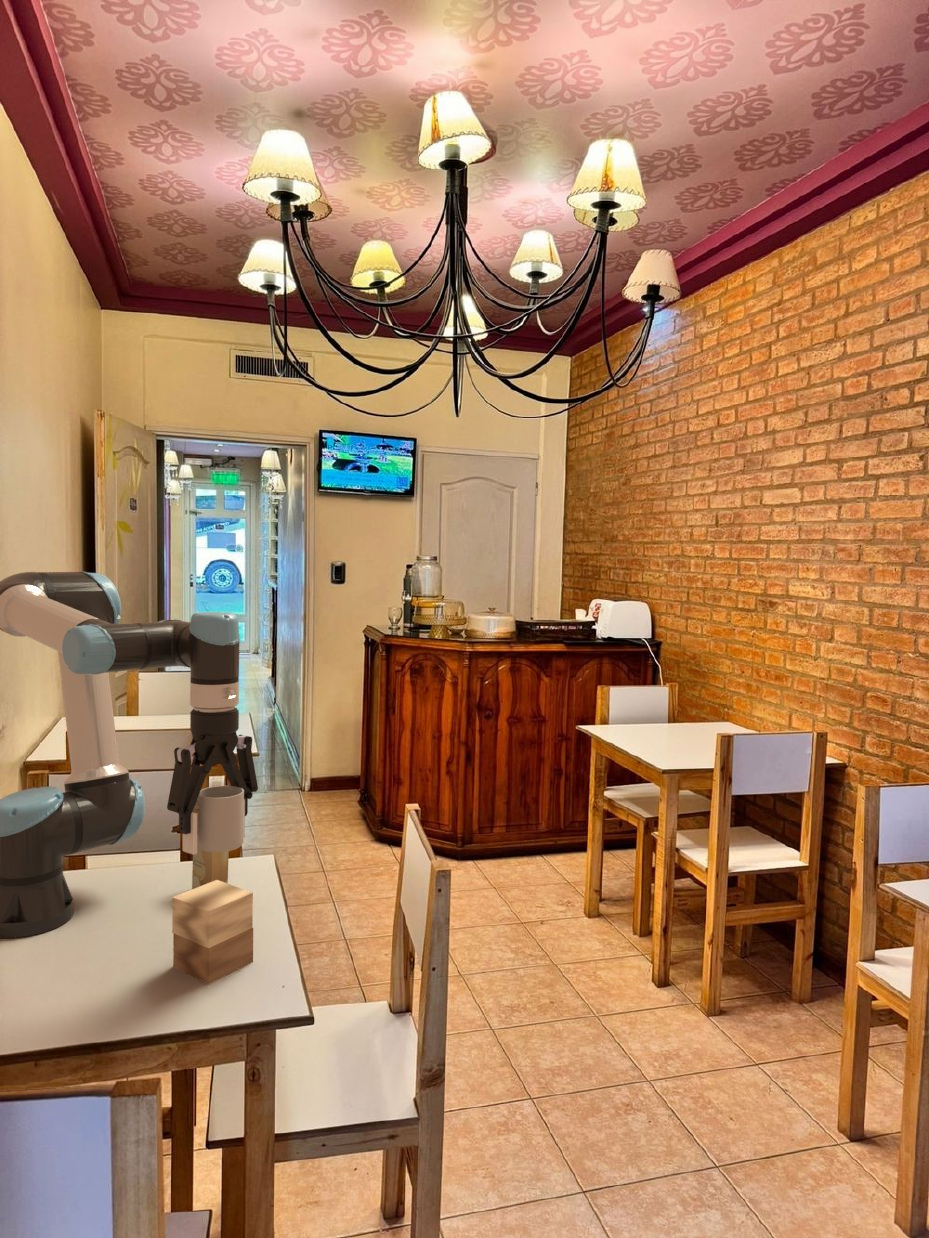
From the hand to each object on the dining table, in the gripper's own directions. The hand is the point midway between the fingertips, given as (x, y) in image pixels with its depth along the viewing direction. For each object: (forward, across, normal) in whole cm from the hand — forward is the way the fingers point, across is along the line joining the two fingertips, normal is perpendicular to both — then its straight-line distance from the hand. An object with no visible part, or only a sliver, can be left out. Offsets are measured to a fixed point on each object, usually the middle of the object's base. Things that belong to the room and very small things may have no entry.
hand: (214, 843), depth 132 cm
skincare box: (+21, +18, +24) cm, 37 cm away
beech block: (+15, 0, 0) cm, 15 cm away
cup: (0, 0, 0) cm, 1 cm away
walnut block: (+21, 0, 0) cm, 21 cm away
